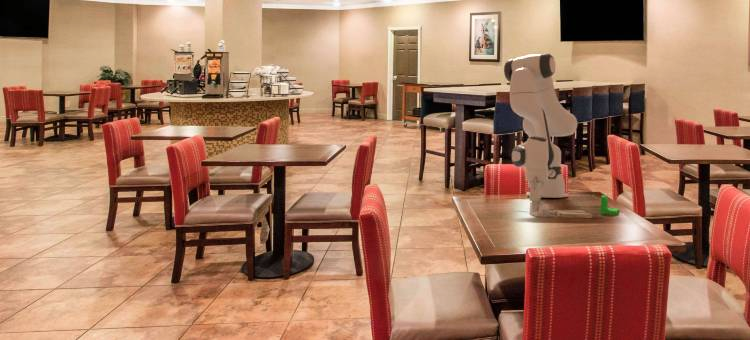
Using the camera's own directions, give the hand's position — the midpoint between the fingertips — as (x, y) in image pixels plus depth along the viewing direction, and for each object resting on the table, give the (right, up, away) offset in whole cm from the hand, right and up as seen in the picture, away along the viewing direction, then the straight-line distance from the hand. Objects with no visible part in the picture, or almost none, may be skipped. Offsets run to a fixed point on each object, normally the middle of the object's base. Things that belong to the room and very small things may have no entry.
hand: (535, 210), depth 250 cm
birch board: (+14, -2, -1) cm, 15 cm away
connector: (+1, -2, -2) cm, 3 cm away
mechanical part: (+33, -2, +7) cm, 34 cm away
